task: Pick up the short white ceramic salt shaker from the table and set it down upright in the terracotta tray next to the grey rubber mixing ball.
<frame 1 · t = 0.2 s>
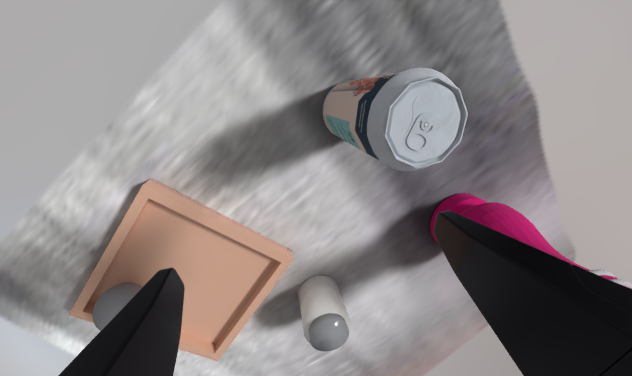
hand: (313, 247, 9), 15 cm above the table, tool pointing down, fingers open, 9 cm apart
pepper mill: (454, 218, 29), on the table
mixing ball: (134, 291, 24), resting on tray
tray: (190, 274, 25), on the table
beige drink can: (347, 110, 23), on the table
shaker: (318, 292, 29), on the table
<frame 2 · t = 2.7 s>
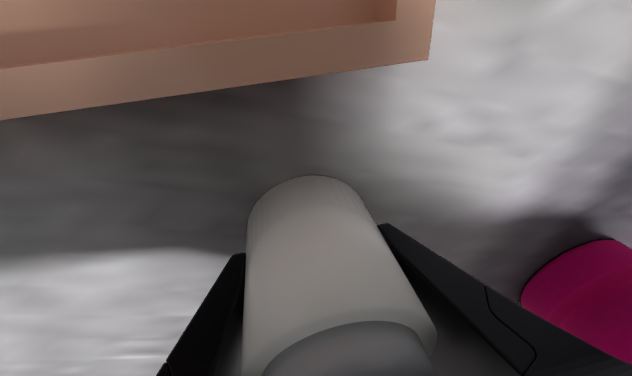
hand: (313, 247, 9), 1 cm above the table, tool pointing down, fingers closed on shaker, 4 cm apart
pepper mill: (565, 274, 16), on the table
shaker: (308, 226, 10), on the table, touching gripper
when the fingers open (2 cm above the table, at t = 6.3 s): shaker stays where it is, resting on tray.
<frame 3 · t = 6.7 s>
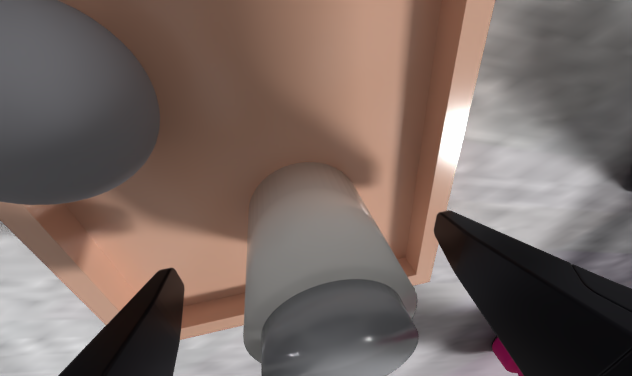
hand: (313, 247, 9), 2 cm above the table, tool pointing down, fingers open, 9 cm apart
pepper mill: (522, 330, 23), on the table
mixing ball: (95, 85, 7), resting on tray
tray: (256, 168, 10), on the table
shaker: (305, 211, 11), point 1 cm above the table, touching tray
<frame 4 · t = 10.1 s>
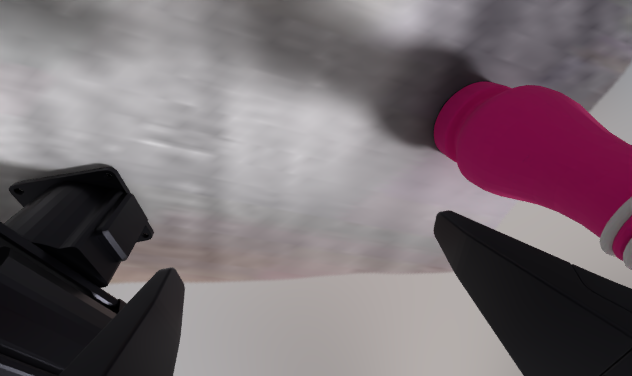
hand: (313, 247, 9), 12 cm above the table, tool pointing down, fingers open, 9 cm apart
pepper mill: (466, 120, 22), on the table
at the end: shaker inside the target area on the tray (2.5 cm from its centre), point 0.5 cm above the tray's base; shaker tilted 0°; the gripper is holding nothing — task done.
